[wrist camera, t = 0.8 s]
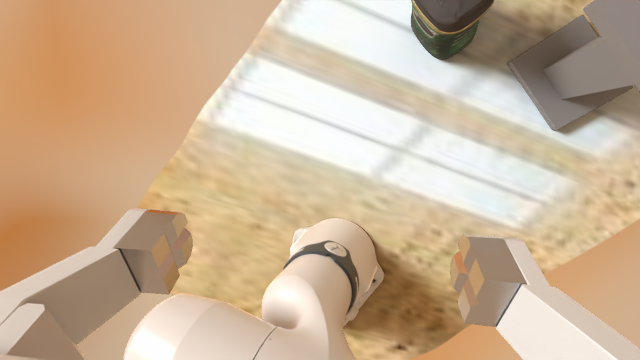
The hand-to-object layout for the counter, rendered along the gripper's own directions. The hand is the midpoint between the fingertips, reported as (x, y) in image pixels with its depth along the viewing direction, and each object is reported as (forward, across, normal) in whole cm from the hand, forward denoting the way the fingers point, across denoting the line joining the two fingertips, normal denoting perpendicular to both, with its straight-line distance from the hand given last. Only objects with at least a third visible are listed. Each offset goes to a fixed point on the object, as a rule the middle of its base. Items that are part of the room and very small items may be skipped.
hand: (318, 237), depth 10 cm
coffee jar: (+50, +15, -2) cm, 53 cm away
